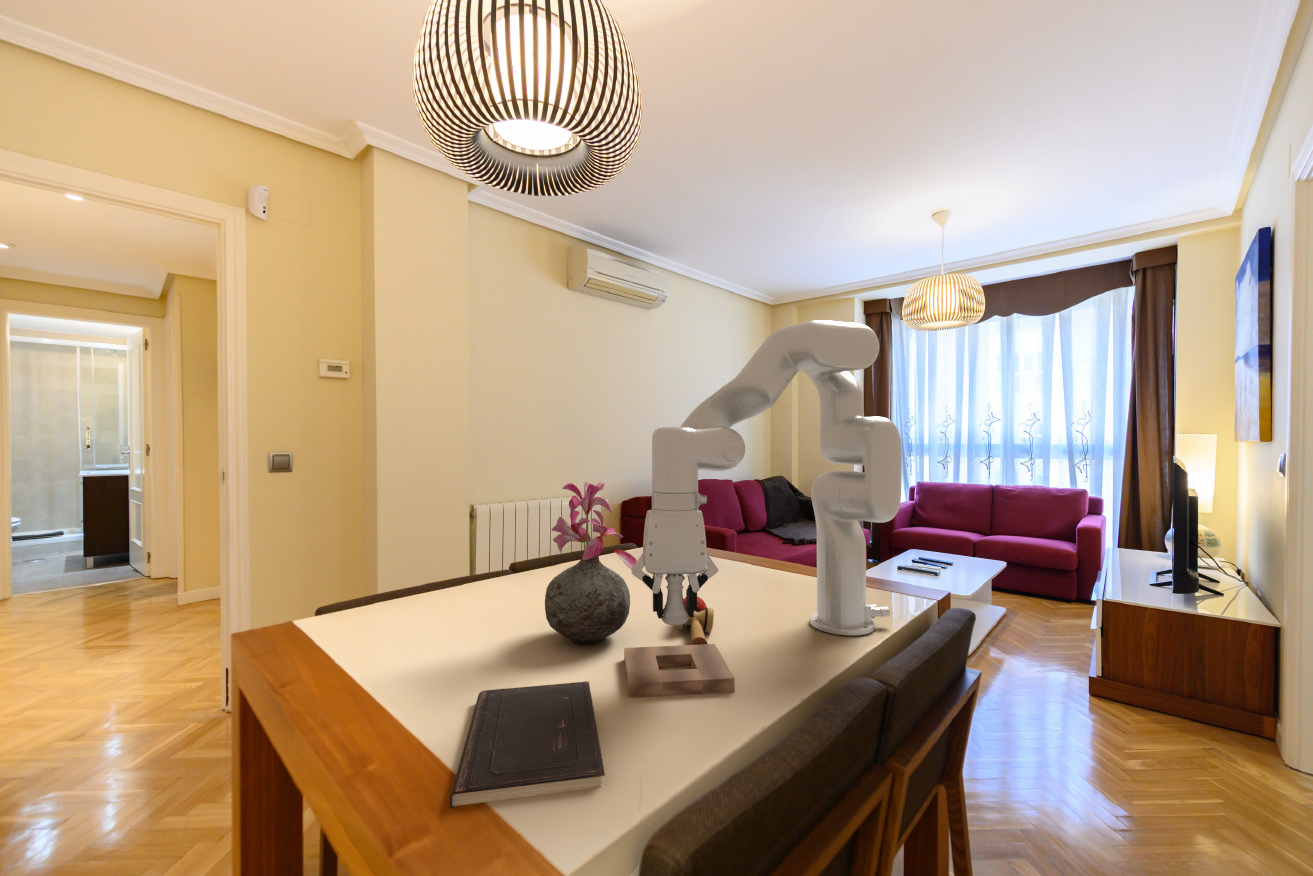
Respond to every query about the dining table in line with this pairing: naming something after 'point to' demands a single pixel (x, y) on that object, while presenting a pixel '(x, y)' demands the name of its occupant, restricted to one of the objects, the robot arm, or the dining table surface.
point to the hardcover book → (529, 744)
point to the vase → (587, 578)
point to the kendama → (699, 622)
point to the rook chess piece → (675, 601)
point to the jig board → (702, 678)
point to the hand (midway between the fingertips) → (674, 614)
